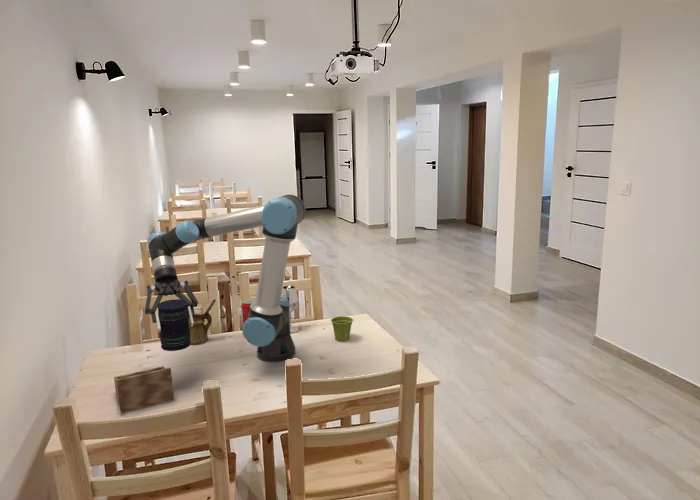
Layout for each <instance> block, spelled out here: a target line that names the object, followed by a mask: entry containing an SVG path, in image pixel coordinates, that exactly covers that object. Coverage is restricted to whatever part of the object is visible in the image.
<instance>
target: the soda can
mask: <svg viewBox="0 0 700 500" xmlns="http://www.w3.org/2000/svg"><path fill="white" fill-rule="evenodd" d="M255 300H256V298H248V299H244V300H242V303H241V305H240V312H241V327H242V330H243V325H244V323H245V321H246V320H248V316H249V310H250V305H251V304H252V303H253V302H255Z"/></svg>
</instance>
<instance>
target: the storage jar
mask: <svg viewBox="0 0 700 500" xmlns="http://www.w3.org/2000/svg"><path fill="white" fill-rule="evenodd" d="M157 311H158V316H159V322H160V327H161V330H160V332H159V340H160V348H161V350H163V351H168V352H176V351H181V350H185V349H187V348H189V347H190V346H192V345H191V341H190V337H191V335H190V328H189V322H188V319H189V309H188V302H187V301H186V300H180V299H179V298H177V299H169V300H164V301H160V303H159V304H158V307H157Z"/></svg>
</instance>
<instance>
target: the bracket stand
mask: <svg viewBox="0 0 700 500" xmlns="http://www.w3.org/2000/svg"><path fill="white" fill-rule="evenodd" d="M172 375H173V374H172V367H166V368H165V367H164V366H159V367H153V368H150V369H144V370H140V371H136V372H130V373H126V374H122V375H116V376H114V377H113V382H114V389H115V395H116V401H117V403H118V408H119V411H120V414H123V413H126V412H131V411H135V410H138V409H143V408H146V407H151V406H154V405H159V404H162V403H163V404H164V403H166V402H170V401H174V400H175V396H174V386H173V376H172Z"/></svg>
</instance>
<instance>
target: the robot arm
mask: <svg viewBox="0 0 700 500" xmlns="http://www.w3.org/2000/svg"><path fill="white" fill-rule="evenodd" d="M305 217H306V205H305V203H304V201H303V200H302V199H301V198H300V197H298V196H297V195H294V194H285V195H284V194H283V195H282V196H277V197H274V198H272V199H271V200H269V201H268V202H267V203H265V204H263V205H257V206H254V207H250V208H245V209H240V210H235V211H232V212H231V211H230V212H228V213H224V214H223V213H222V214H218V215H213V216H210V217H206V218H205V217H204V218H198V219H194V220H193V221H191V220H184V221H183V222H180V223H178V224H177V225H175V227H174V228H172V229H170V230H169V231H167V232H165V231H156V232H152V233H151V234H150V235H148V237H147V249H148V251H149V256H150V260H151V268H152V273H153V277H154V285H146V293H147V296H146V301H145V307H144V314H146V315H148V314H149V315H150V317H151V321H152V323H153V324H154V323H156V324H155V325H156V329H157V333H160V331H161V327H160V322H159V316H158V304H159V303H161V302H162V299H163V296H164V297H168V296H175V297H176V298H177V299H179V300H186V301H187V302H188V309H189V321H190V326H191V327H193V324H194V322H193V317H194V314H196V313H195V308H196V307H198V303H199V301H198V299H197V298H196V296H195V295H194V292H193V291H192V289H191V288H190V285H189V281H188V280H185V281H181V282H180V280H179V279H178V275H177V274H178V273H177V270H176V264H175V259H174V255H173V254H175V252H178V251H180V250H181V249H183V248H184V247H186V246H188V245H190V244H192V243H195V242H197V241H200V240H205V239H208V238H212V237H217V236H218V237H219V236H223V235H227V234H232V233H236V232H240V231H241V232H242V231H246V230H250V229H255V228H260V227H262V231H261V233H262V235H263V236H264V238H265V241H264V247H263V253H262V258H261V265H260V271H259V277H258V283H257V289H256V296H255V299H256V300H255V302H253V303H252V304H251V305H250V310H249V316H248V320H246V321H245V323H244V325H243V329H242V334H243V337H244V339H245V340H246V341H247V342H248V343H249V344H250V345H252V346H255V347H257V348H256V356H257V358H258V359H259V360H261V361H264V362H271V363H273V362H274V363H275V362H283V361H287V360H289V359H291V358H293V357H294V356H296V345H295V342H294V340H293V337H292V336H291V335H292V334H291V333H290V313H289V307H290V306H289V301H288V299H286V298H283V297H281V293H282V288H283V287H284V286H283V285H284V280H285V273H286V268H287V262H288V258H289V257H288V256H289V251H290V245H291V242H293V241H295V239H296V236H297V232H298V231H297V230H298V225H299V224H301V223H302V222H303V220H304V219H305ZM180 287H181V288H182V289H183V290H184V292H185V293H186V295H187V296H186V295H185V294H184V293H183V292H182V291H181V289H180ZM154 290H155V291H156V292H158V295H157V296H156V299H155V301H154V303H153V305H152V307H151V300H152V295H153V293H154ZM150 307H151V308H150ZM286 359H287V360H286Z"/></svg>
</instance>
